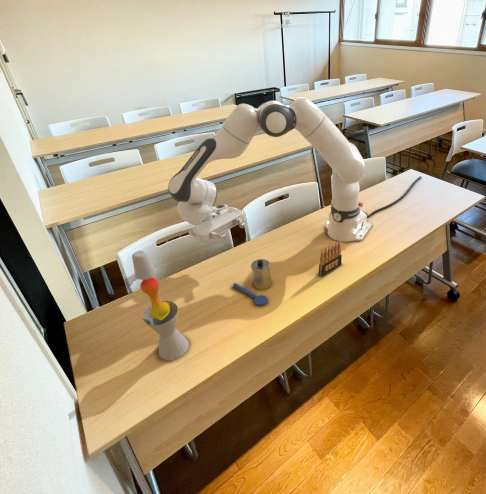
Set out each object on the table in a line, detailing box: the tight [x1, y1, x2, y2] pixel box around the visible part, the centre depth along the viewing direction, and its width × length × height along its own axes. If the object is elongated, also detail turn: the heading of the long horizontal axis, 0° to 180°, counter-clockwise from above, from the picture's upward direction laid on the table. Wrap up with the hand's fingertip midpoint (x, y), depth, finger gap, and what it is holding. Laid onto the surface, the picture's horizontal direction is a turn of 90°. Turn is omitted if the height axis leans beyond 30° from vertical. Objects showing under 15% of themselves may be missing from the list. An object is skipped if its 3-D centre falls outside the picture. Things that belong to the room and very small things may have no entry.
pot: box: [250, 258, 272, 290], centre depth 120 cm, size 7×7×10 cm
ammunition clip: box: [318, 239, 343, 277], centre depth 126 cm, size 11×2×12 cm, turn 131°
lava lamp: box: [131, 250, 190, 361], centre depth 90 cm, size 9×9×35 cm
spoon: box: [232, 282, 268, 307], centre depth 118 cm, size 16×4×1 cm, turn 52°
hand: (233, 231), depth 118 cm, fingers open, 8 cm apart
